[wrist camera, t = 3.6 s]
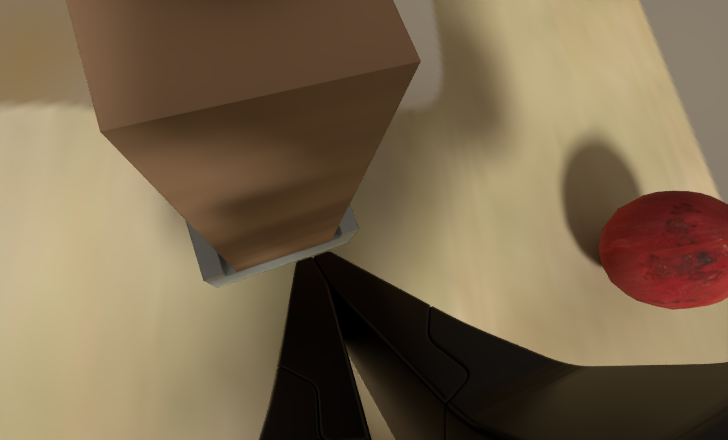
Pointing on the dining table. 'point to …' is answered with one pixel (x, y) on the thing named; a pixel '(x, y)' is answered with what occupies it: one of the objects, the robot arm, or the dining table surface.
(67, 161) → the dining table surface
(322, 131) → the brown rectangular block
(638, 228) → the red oval piece
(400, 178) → the dining table surface
